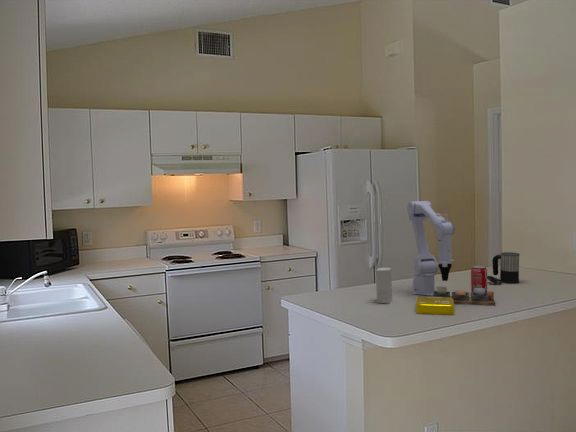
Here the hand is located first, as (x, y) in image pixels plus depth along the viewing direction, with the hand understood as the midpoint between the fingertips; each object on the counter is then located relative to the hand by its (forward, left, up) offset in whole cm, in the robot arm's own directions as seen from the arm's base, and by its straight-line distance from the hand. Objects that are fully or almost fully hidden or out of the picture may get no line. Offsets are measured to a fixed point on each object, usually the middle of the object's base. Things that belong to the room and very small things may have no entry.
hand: (444, 280), depth 248 cm
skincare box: (-24, -11, -10) cm, 28 cm away
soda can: (+10, +21, -10) cm, 25 cm away
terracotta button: (+6, +3, -8) cm, 10 cm away
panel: (+6, +3, -9) cm, 12 cm away
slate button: (+14, +5, -6) cm, 16 cm away
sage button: (-2, +1, -6) cm, 7 cm away
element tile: (0, -16, -10) cm, 19 cm away
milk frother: (+15, +53, -10) cm, 56 cm away
